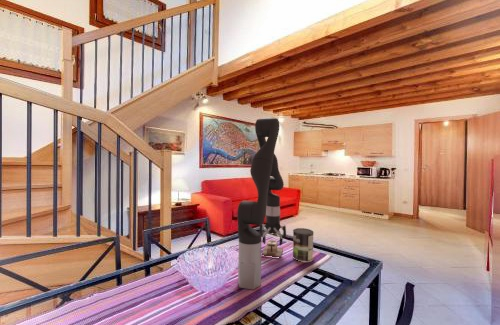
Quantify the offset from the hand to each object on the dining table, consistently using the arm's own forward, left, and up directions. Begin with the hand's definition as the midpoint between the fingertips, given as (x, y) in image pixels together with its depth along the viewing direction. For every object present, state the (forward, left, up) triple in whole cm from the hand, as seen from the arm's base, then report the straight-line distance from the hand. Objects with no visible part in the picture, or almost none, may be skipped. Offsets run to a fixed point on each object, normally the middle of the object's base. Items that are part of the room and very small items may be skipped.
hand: (272, 244), depth 126 cm
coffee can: (-2, -16, -5) cm, 17 cm away
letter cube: (0, 0, -4) cm, 4 cm away
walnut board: (0, 0, -5) cm, 5 cm away
